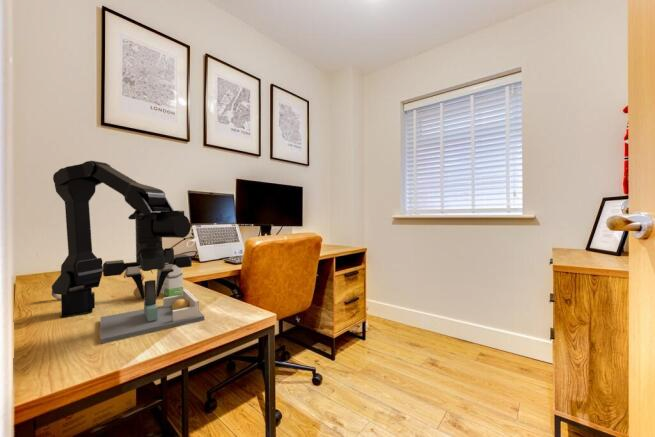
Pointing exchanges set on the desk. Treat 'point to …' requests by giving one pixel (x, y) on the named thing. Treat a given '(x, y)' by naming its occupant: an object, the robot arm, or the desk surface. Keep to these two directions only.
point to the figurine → (136, 291)
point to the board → (139, 323)
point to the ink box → (173, 282)
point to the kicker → (150, 300)
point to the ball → (180, 304)
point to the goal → (184, 312)
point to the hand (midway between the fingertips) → (150, 297)
